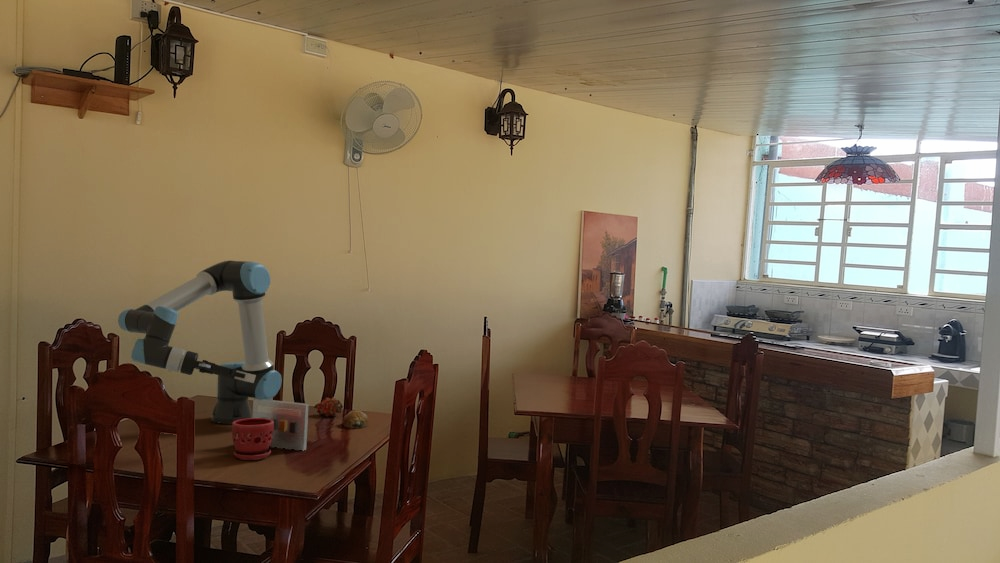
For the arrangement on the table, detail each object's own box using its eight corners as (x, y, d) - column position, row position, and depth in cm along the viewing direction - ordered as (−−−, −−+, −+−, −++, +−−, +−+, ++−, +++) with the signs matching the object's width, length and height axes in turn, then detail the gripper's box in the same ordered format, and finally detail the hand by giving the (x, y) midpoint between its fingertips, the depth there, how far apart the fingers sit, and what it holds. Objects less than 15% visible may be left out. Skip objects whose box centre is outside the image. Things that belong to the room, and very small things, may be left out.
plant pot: (279, 453, 243) (281, 418, 243) (260, 464, 230) (261, 427, 230) (243, 449, 245) (245, 415, 245) (222, 459, 232) (224, 423, 232)
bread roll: (369, 434, 291) (372, 414, 294) (363, 428, 282) (366, 408, 285) (345, 432, 292) (348, 412, 295) (338, 426, 283) (342, 406, 286)
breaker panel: (249, 445, 251) (251, 400, 250) (254, 443, 254) (256, 398, 253) (301, 451, 247) (304, 405, 246) (306, 449, 250) (308, 404, 249)
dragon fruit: (344, 420, 303) (315, 423, 302) (345, 405, 309) (317, 408, 309) (340, 407, 297) (311, 410, 297) (342, 392, 304) (313, 394, 303)
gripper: (180, 373, 243) (250, 391, 250) (178, 370, 231) (252, 388, 238) (187, 352, 245) (257, 370, 252) (185, 348, 233) (259, 366, 240)
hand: (254, 379), depth 245 cm, fingers closed
